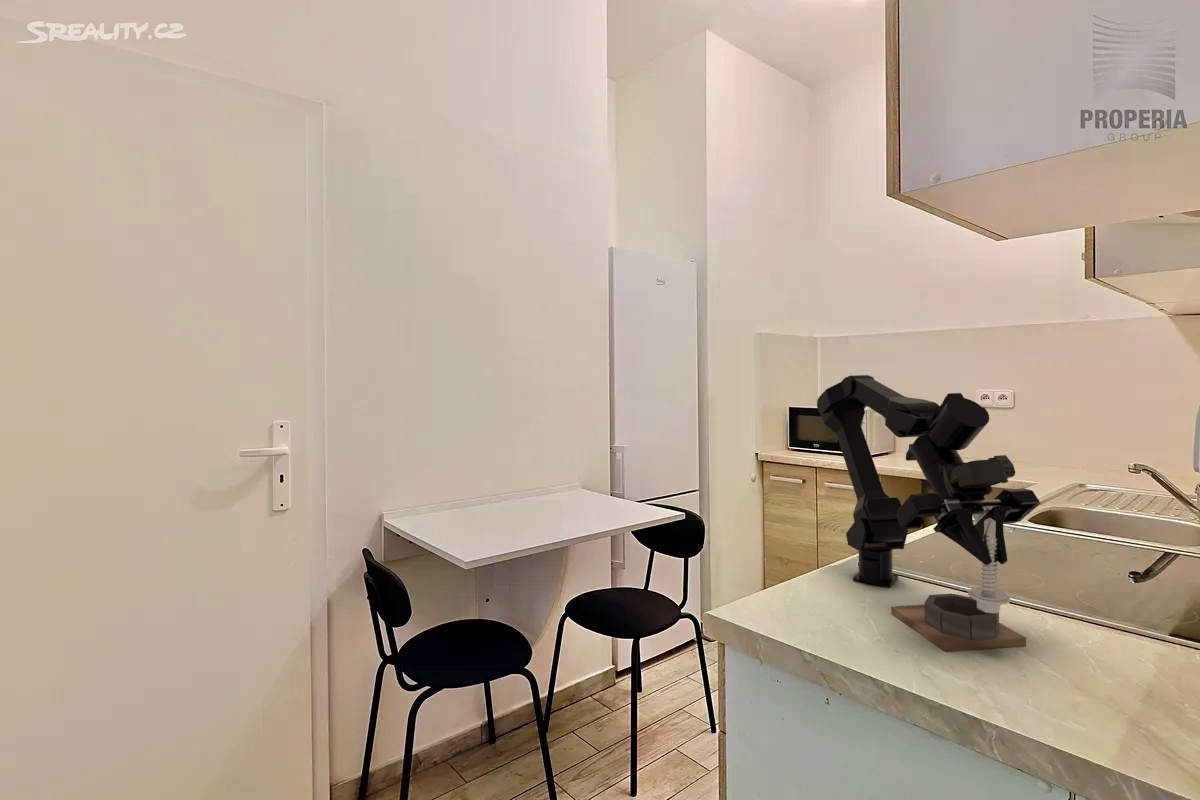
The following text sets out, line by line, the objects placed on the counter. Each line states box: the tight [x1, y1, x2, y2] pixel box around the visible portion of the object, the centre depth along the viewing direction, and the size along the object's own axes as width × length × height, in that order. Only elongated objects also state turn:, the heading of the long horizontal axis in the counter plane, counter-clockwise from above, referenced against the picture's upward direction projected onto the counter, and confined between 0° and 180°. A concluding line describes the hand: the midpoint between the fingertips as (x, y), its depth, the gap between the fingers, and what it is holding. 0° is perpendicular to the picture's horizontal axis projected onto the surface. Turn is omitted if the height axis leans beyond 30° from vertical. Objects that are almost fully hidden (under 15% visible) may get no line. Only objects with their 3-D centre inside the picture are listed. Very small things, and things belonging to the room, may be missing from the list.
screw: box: [967, 518, 1011, 614], centre depth 81 cm, size 13×5×5 cm
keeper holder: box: [890, 593, 1027, 653], centre depth 88 cm, size 13×12×4 cm
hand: (996, 563), depth 79 cm, fingers closed on screw, 2 cm apart
